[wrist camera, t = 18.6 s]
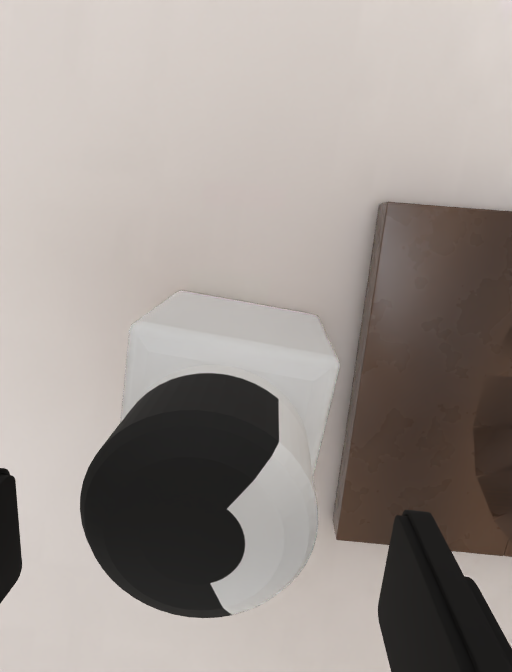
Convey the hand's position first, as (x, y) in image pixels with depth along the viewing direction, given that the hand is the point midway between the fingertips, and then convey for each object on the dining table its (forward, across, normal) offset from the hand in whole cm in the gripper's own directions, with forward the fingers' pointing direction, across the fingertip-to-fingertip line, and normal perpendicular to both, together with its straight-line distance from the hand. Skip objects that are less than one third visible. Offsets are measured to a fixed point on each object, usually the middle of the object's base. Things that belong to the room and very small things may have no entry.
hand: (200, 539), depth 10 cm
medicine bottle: (+12, 0, 0) cm, 12 cm away
